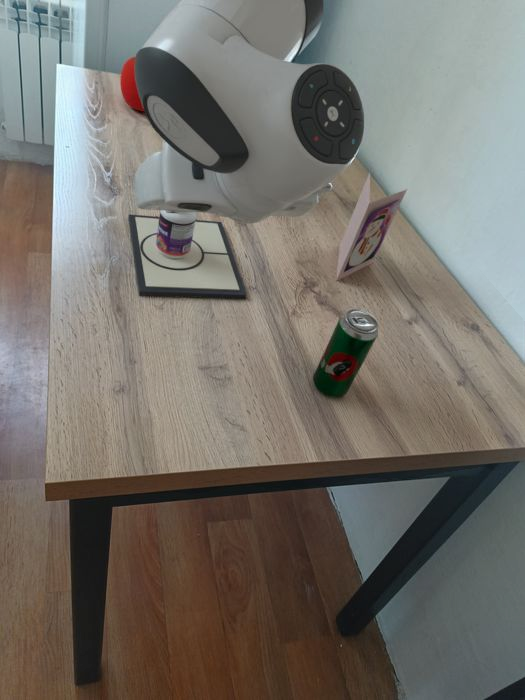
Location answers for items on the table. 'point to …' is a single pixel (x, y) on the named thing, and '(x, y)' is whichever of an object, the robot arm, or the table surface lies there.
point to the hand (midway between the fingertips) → (208, 208)
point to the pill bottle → (175, 233)
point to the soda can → (345, 352)
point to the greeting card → (366, 230)
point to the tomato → (130, 85)
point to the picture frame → (185, 263)
